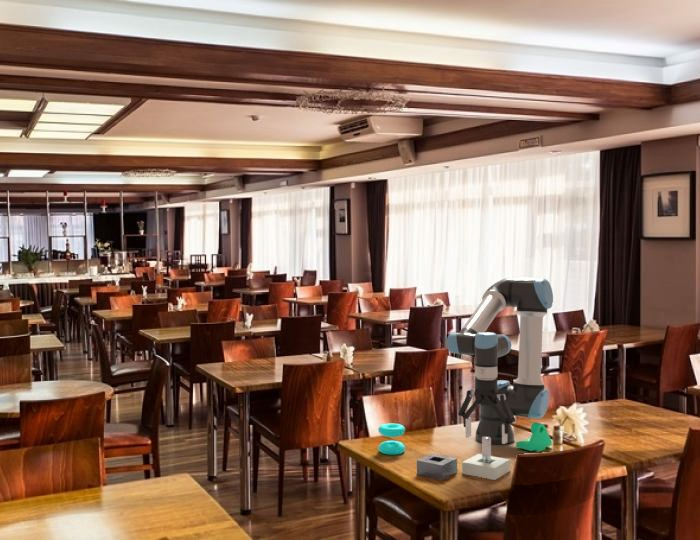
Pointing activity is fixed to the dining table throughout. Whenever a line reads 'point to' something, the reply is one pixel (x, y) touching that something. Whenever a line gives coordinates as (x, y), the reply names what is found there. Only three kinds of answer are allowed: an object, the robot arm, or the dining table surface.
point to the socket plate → (486, 467)
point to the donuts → (391, 446)
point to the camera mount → (536, 439)
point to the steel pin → (486, 450)
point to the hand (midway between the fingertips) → (486, 439)
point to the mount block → (437, 466)
